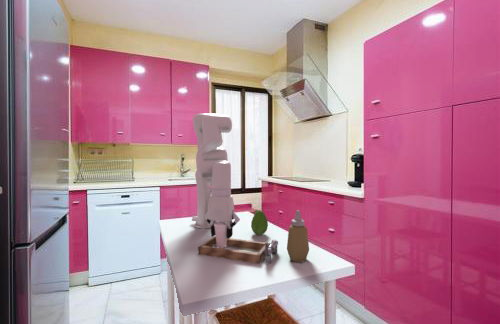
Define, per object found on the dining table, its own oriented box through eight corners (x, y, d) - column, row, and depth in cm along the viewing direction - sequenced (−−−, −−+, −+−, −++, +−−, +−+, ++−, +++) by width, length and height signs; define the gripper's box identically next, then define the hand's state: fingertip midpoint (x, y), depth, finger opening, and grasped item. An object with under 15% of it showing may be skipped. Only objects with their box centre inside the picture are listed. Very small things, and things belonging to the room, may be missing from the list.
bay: (198, 254, 97) (198, 246, 97) (214, 243, 109) (214, 236, 109) (259, 263, 89) (259, 255, 88) (269, 250, 101) (269, 243, 101)
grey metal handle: (263, 264, 88) (263, 242, 88) (272, 251, 99) (272, 232, 99) (269, 265, 87) (269, 243, 87) (278, 252, 99) (278, 232, 98)
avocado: (259, 238, 115) (259, 212, 115) (248, 234, 121) (247, 209, 121) (271, 234, 120) (271, 210, 120) (260, 231, 126) (259, 207, 126)
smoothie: (216, 250, 97) (216, 215, 97) (211, 244, 103) (211, 211, 102) (231, 247, 100) (232, 213, 100) (225, 242, 106) (226, 209, 105)
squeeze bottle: (304, 265, 87) (304, 214, 86) (283, 260, 91) (283, 211, 91) (312, 257, 94) (312, 209, 93) (291, 253, 98) (291, 207, 97)
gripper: (197, 192, 100) (197, 236, 101) (237, 195, 94) (237, 242, 95) (207, 189, 107) (207, 231, 108) (245, 192, 101) (244, 236, 102)
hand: (221, 236), depth 101 cm, fingers closed on smoothie, 6 cm apart
